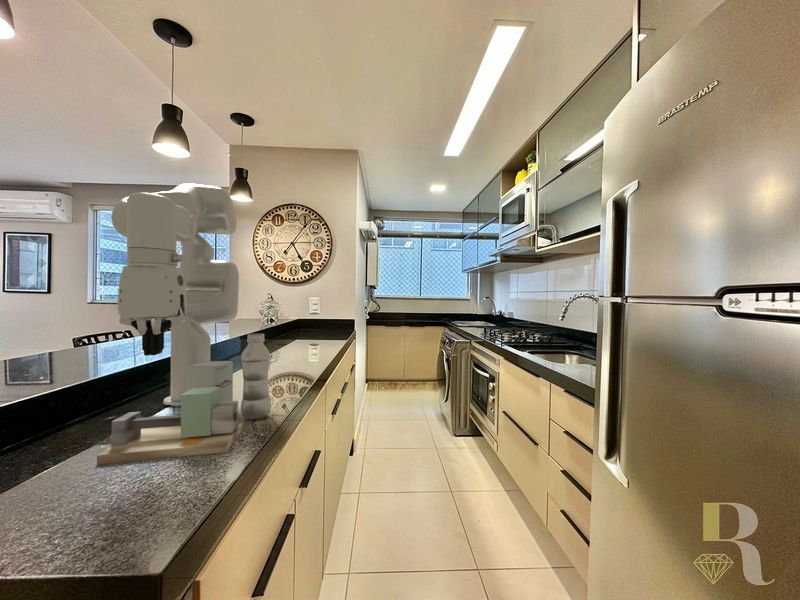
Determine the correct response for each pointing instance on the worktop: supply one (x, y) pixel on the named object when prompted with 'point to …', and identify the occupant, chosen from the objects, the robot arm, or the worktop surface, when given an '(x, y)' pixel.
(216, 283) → the robot arm
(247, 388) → the plastic bottle
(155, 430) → the cable board
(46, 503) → the worktop surface
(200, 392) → the pale green block
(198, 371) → the supplement box
